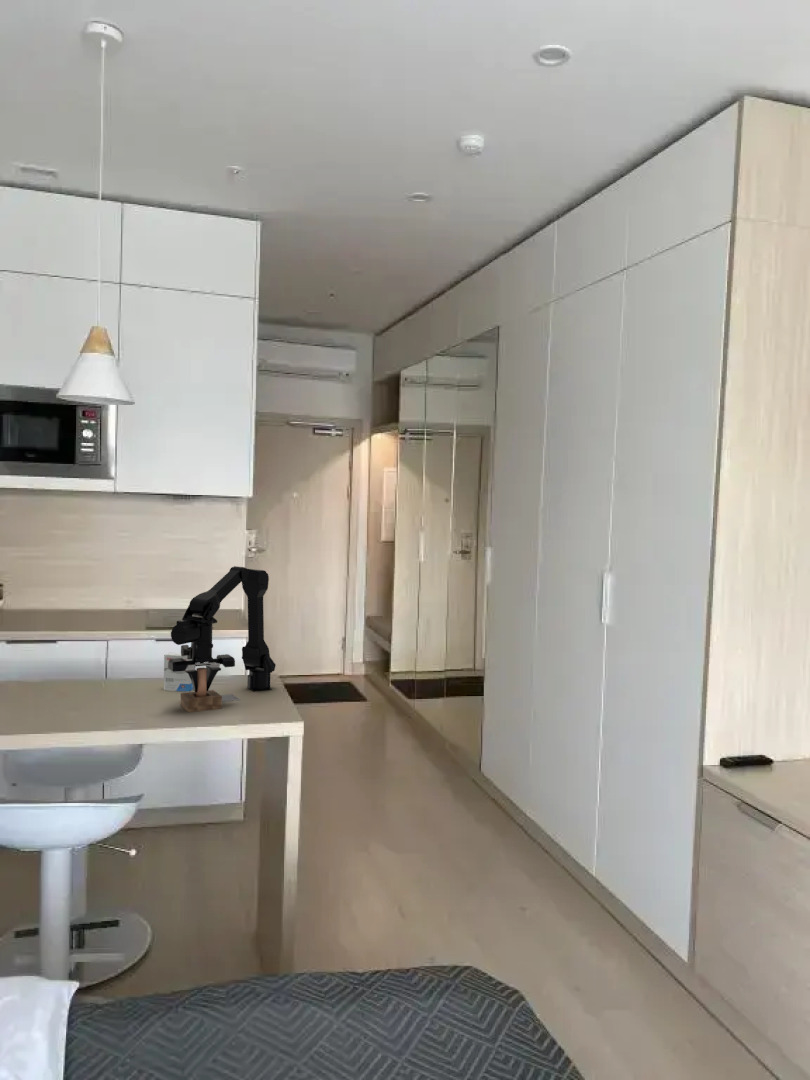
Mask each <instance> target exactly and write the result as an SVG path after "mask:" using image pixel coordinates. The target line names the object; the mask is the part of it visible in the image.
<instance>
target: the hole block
mask: <svg viewBox="0 0 810 1080" xmlns="http://www.w3.org/2000/svg"><path fill="white" fill-rule="evenodd" d="M221 695H222V694H219V693H218V692H217V691H216V690H214V689H211V690H210V689H209V690H208V691H207V694H206V696H204V697H196V692H195V691H189V692H183V693H182V692H180V707H182V709H184V710H185V711H186V712H187V713H195V712H205V711H212V710H213V711H214V710H221V709H223V707H222V705H223V702H222V696H221Z"/></svg>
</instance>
